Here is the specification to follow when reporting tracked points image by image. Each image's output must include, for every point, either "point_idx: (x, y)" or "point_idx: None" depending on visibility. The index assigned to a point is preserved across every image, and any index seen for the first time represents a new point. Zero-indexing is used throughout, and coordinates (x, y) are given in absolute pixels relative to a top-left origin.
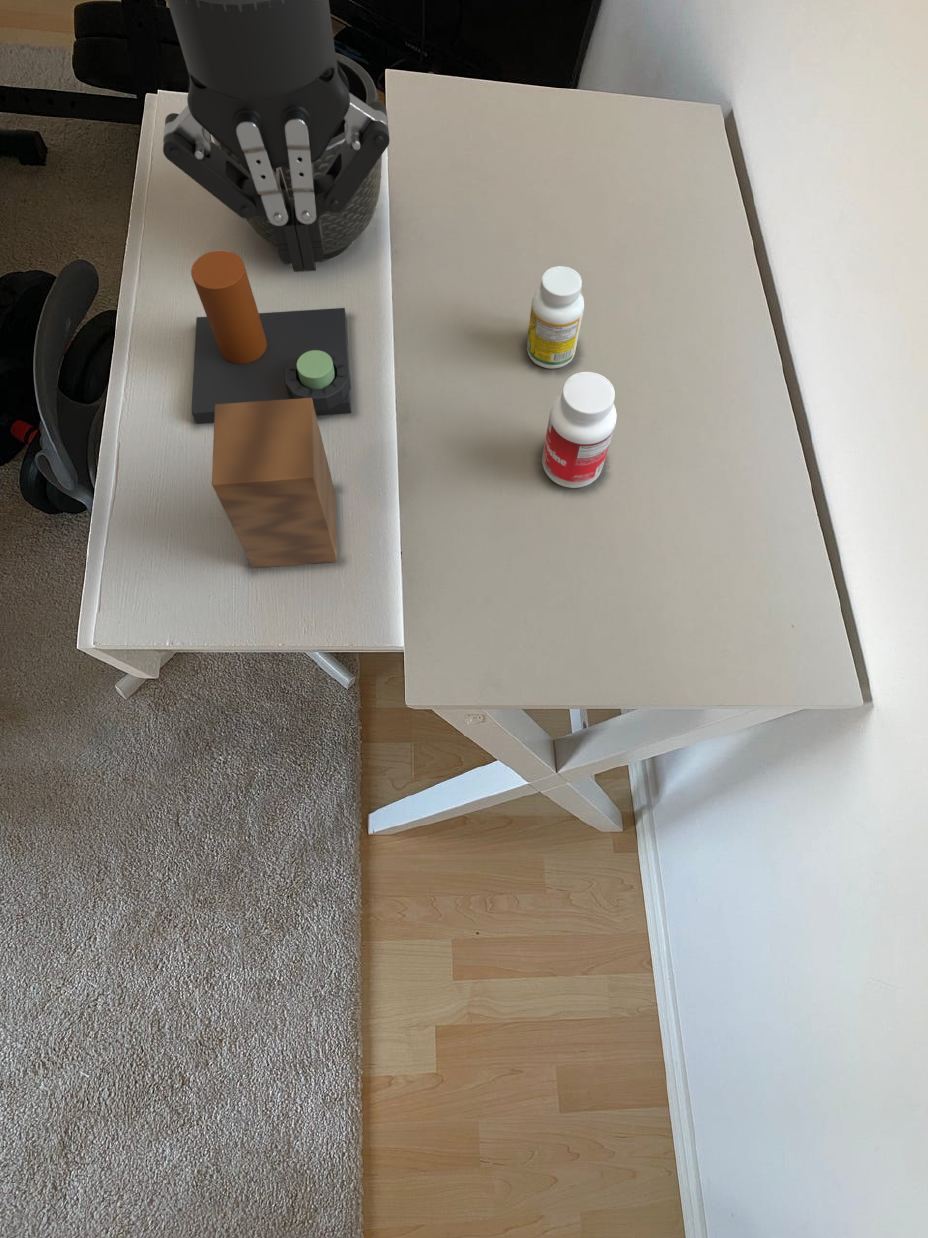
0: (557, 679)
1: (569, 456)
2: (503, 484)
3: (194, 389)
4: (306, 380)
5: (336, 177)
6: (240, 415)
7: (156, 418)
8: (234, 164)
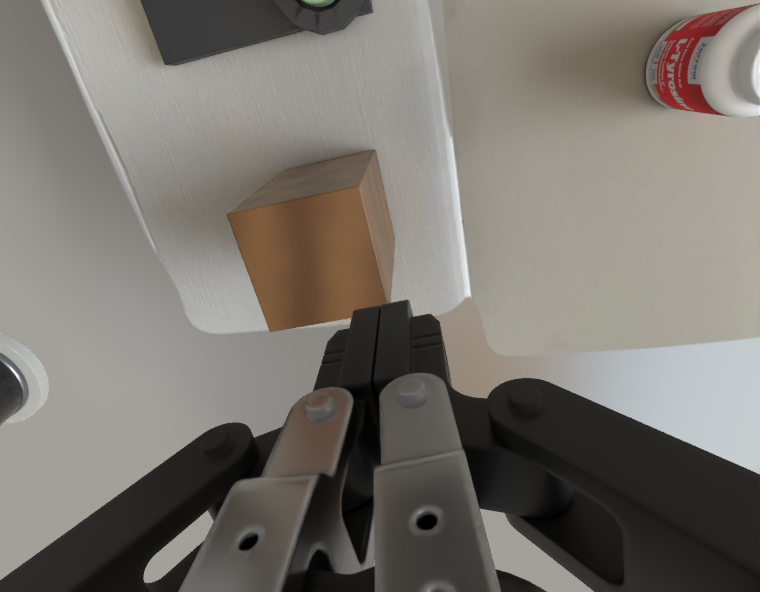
0: (620, 334)
1: (705, 112)
2: (586, 110)
3: (150, 19)
4: (307, 3)
5: (581, 565)
6: (268, 229)
7: (121, 63)
8: (170, 529)
